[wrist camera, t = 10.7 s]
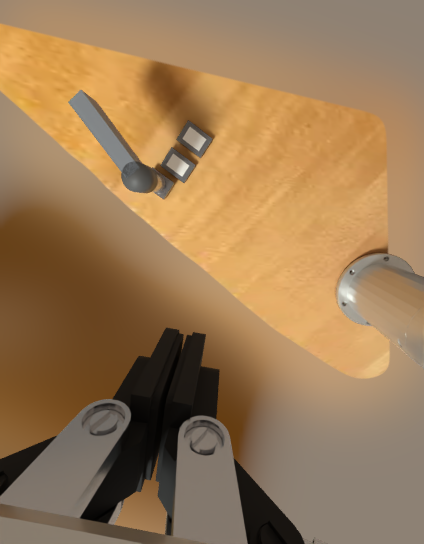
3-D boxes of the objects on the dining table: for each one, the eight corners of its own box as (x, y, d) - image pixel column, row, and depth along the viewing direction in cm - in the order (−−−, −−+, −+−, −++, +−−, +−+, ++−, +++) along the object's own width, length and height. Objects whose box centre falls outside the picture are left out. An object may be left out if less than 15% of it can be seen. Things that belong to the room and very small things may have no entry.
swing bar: (100, 98, 32) (85, 85, 29) (163, 182, 34) (155, 180, 31) (81, 116, 33) (63, 106, 29) (143, 198, 35) (134, 197, 31)
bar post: (174, 183, 41) (164, 179, 34) (164, 199, 42) (152, 198, 35) (153, 167, 41) (138, 160, 34) (143, 184, 42) (127, 180, 35)
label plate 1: (212, 139, 40) (212, 138, 39) (200, 158, 40) (200, 157, 40) (188, 121, 39) (188, 119, 39) (177, 140, 40) (176, 139, 39)
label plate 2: (195, 165, 41) (195, 165, 40) (184, 183, 41) (183, 183, 41) (172, 147, 40) (171, 147, 40) (161, 166, 41) (160, 165, 40)
